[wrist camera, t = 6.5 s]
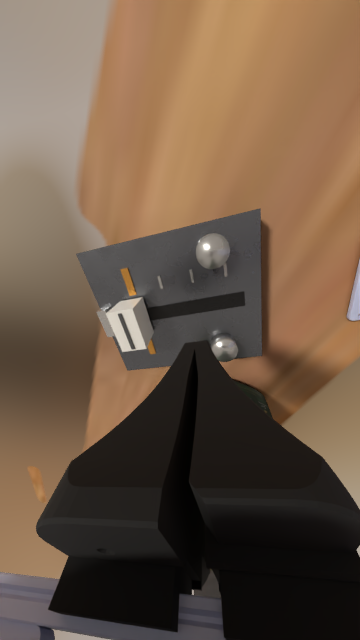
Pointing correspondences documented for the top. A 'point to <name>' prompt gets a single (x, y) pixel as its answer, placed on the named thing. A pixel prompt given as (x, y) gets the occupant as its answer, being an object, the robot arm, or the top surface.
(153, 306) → the console
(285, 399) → the top surface
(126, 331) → the fader cap
